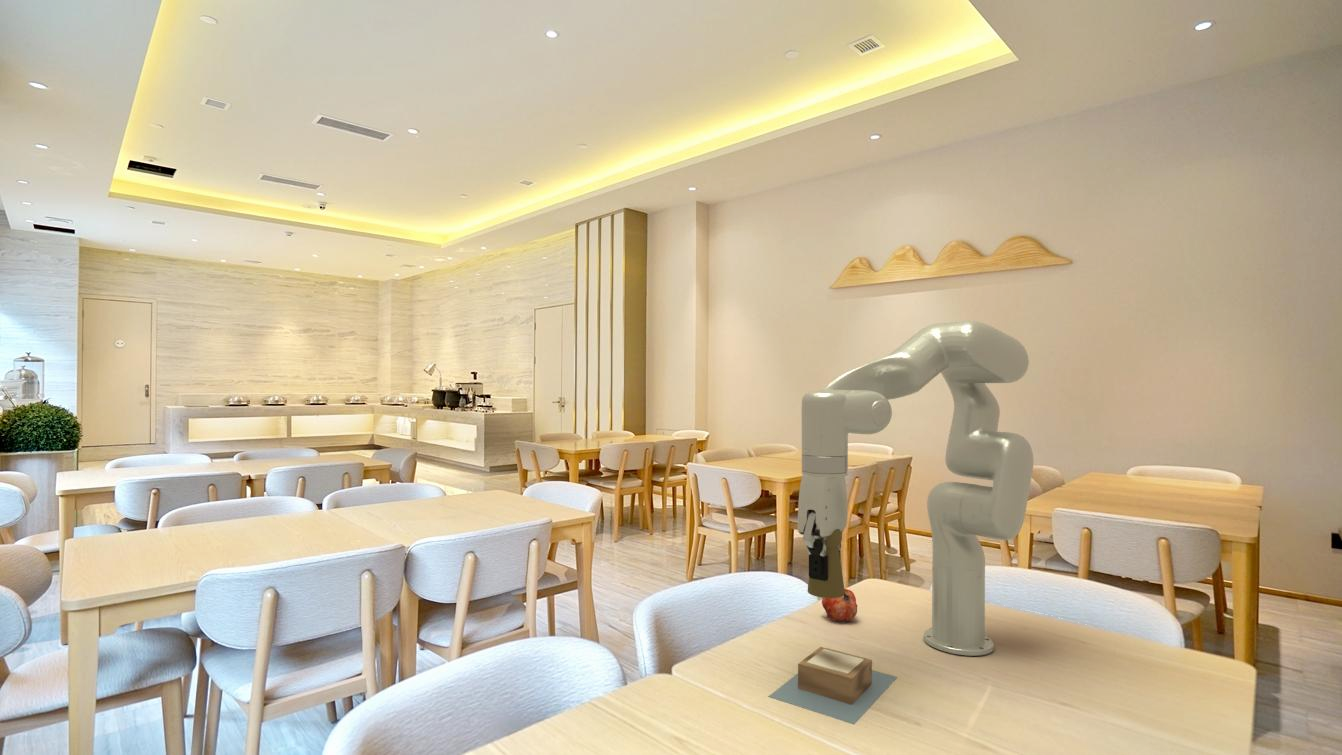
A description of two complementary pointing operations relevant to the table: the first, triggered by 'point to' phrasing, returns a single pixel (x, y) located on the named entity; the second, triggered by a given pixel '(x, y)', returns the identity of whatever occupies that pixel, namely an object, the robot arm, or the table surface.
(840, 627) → the table surface
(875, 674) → the board
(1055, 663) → the table surface
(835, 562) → the cork
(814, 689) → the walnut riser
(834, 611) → the pomegranate
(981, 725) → the table surface
